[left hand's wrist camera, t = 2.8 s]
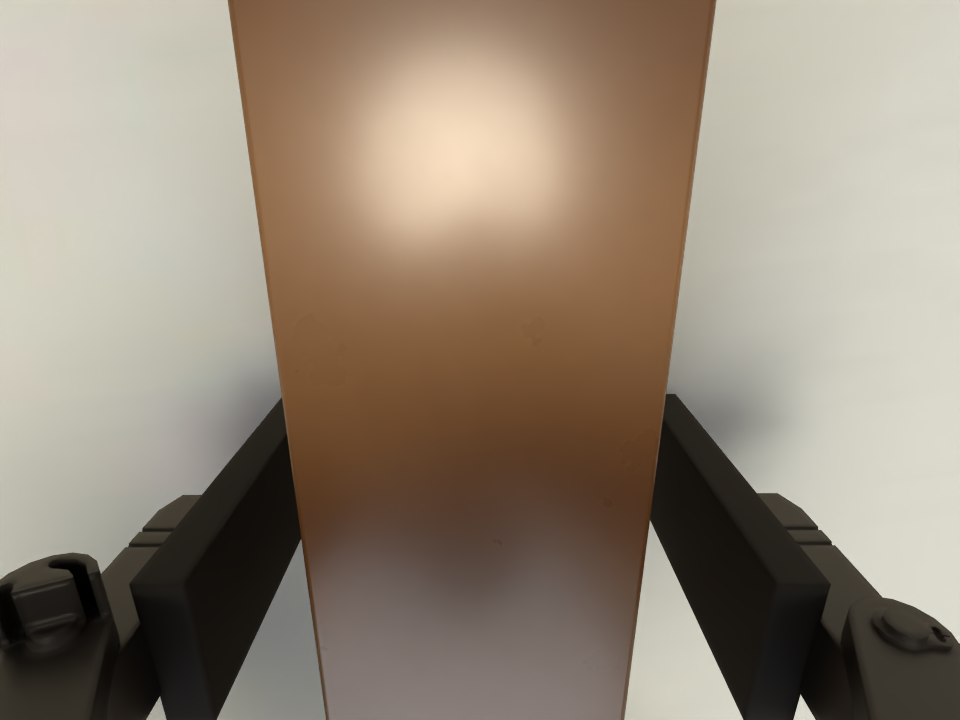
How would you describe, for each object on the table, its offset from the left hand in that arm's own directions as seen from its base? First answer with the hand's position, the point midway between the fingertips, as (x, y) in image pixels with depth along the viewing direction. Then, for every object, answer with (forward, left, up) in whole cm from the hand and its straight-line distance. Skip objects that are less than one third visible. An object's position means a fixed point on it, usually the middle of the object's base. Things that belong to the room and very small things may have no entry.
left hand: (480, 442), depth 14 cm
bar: (+5, +6, -1) cm, 8 cm away
